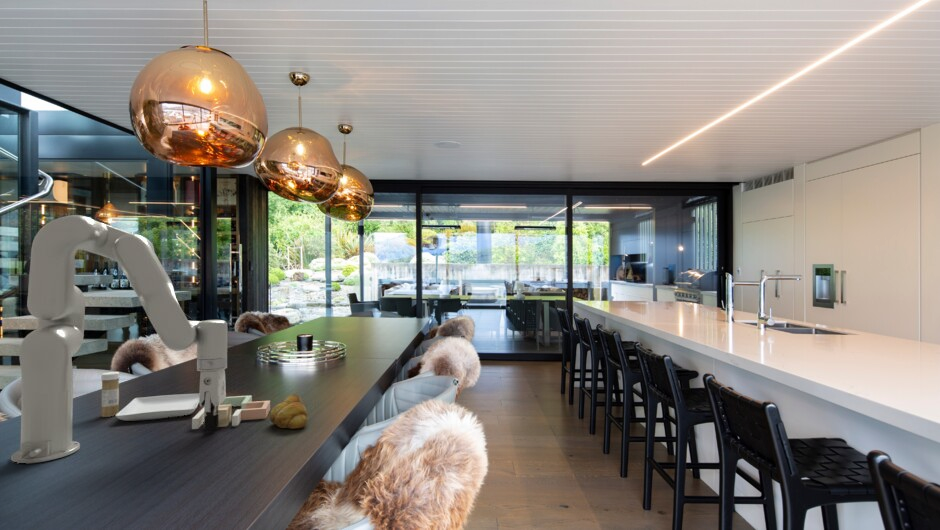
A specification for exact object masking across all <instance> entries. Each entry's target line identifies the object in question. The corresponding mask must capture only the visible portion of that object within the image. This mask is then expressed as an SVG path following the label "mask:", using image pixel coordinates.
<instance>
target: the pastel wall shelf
mask: <svg viewBox="0 0 940 530" xmlns="http://www.w3.org/2000/svg"><path fill="white" fill-rule="evenodd" d="M228 404H231V408H232V406H233V407H240V409H236V410H235V411H234V413H232V415H231V427H237V426H239V425H240V423H241V421H247V420H249V421H250V420H262V419H267V417H268V415H269V413H270V412H271V400H260V401H259V400H258V401H257V400H256V401H253V396H252V395H237V396H236V395H235V396H226V398H225V400H224V401H223V402H222V403H221V404H220V405H228ZM203 422H204V407H202V408H201V409H200V410H199V411H198V412H197V414H196V415H195V416H193V417H192V419H191V430H198V429H199V428H200V427H201V426H202V425H204V423H203Z"/></svg>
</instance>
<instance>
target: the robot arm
mask: <svg viewBox="0 0 940 530" xmlns="http://www.w3.org/2000/svg"><path fill="white" fill-rule="evenodd" d="M79 250H81V251H86V252H89V253H92V254H94V255H95V254H96V255H98V256H101V257H103V258H104V257H105V258H107V259H111V260H112V261H113V260H114V261H116V262H117V264H118V266H119V267H120V269H121V270H122V272H123V274H124V275H125V277H126V279H127V280H128V282H129V283H130V285H131V287H132V289H133V290H134V292H135V294H136V296H137V297H138V300H139V303H140V305H141V306H142V308H143V310H144V311H145V313H146V316H147V317H148V319H149V322H150V323H151V325H152V326H153V329H154V330H155V332H156V334H157V335H158V337H159V339H160V340H161V342H162V343H163V345H164V346H165V347H166V348H168V349H170V350H171V351H177V352H180V351H186V350H187V349H189V348H190V347H191V346H193V345H196V346H197V347H196V371H197V372H200V376H199V377H200V378H199V404H198V405H199V406H200V407H201V408H204V412H205V425H204V424H203V429H204V431H214V430H216V431H217V429H218V428H219V427H218V421H219V414H216V413H218V410H219V405H220V404H221V403H222V402H223V401H224V400H225V398H226V397H227V391H226V390H227V388H226V369H227V368H228V323H227V321H226V320H223V319H207V320H201V321H200V320H188V317H187V316H186V314H185V312H184V311H183V309H182V307H181V306H180V303H179V302H178V299H177V297H176V292H175V287H174V285H173V283H172V282H173V281H172V280H171V278H170V276H169V275H168V273H167V272H166V270H165V269H164V266H163V265H162V263H161V261H160V259H159V258H158V256H157V254H156V253H155V252H156V251H155V247H154V245H153V243H152V242H151V241H150V240H149V239H148V238H147V237H144V236H143V235H140V234H137V233H136V234H135V233H130V232H127V231H125V230H122V229H119V228H116V227H113V226H111V225H109V224H105V223H103V222H100V221H98V220H95V219H93V218H91V217H88V216H85V215H79V214H72V215H66V216H62V217H61V216H60V217H58V218H56V219H53V220H51V221H49V222H48V223H46V224H44V225H43V226H42V227H41V228H40V230H38V232H37V233H36V234H35V236H34V238H33V241H32V244H31V250H30V263H29V264H30V265H29V275H28V291H27V292H28V293H27V301H26V303H27V304H26V307H27V310H28V312H29V313H30V315H31V316H32V317H34V318H36V319H38V322H37V323H38V325H37V327H38V328H36V329H34V330H33V331H31V332H30V333H28V334H27V335H26V336H25V337H24V338H23V340H22V341H21V344H20V347H19V351H18V355H19V364H20V370H21V371H20V372H21V373H20V374H21V405H20V407H21V412H20V413H21V414H20V415H21V416H20V417H21V418H20V448H19V449H18V450H17V451H16V452H14V453H12V455H11V458H10V460H12V461H14V462H17V463H16V464H19V463H26V464H37V463H43V462H49V461H52V460H57V459H60V458H64V457H66V456H69V455H72V454H74V453H76V452H78V451H79V450H80V448H81V443H80V442H78V441H74V440H73V418H74V417H73V414H74V413H73V412H74V411H73V410H74V409H73V408H74V406H73V405H74V369H73V361H72V356H73V355H75V354H76V353H77V352H78V351H79V350H80V349H81V347H82V345H83V341H84V336H85V334H84V332H85V316H86V315H85V313H86V312H85V311H86V310H85V309H86V299H85V296H84V294H83V291H82V290H81V289H80V288H79V287H78V286H76V285H75V276H76V275H75V273H76V262H75V261H76V260H75V257H76V253H77V252H78V251H79ZM12 461H11V462H12ZM14 462H13V463H14Z"/></svg>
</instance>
